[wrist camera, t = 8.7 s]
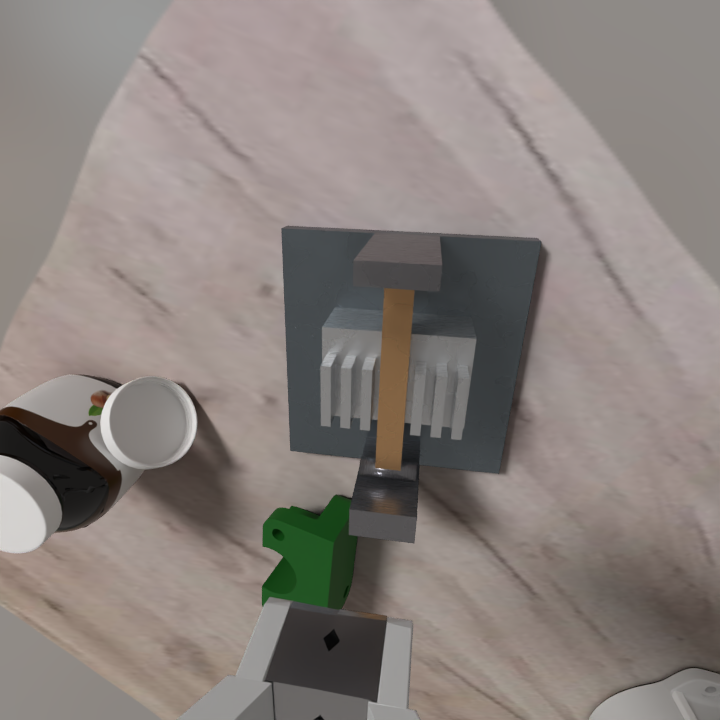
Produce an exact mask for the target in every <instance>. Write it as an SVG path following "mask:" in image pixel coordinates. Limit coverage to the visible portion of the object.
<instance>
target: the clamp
mask: <svg viewBox="0 0 720 720" xmlns="http://www.w3.org/2000/svg"><path fill="white" fill-rule="evenodd" d="M350 505H351V499H348V498H345V497H342V496H340V495H335V496H334V497H333V498H332V499H331V501H330V502H329V504H328V505H327V507H326V508H325V509H324V511H323V512H322V514H321V515H320V516H319V515H316V514H314V513H311V512H308V511H306V510H303V509H301V508H298V507H294V506H291V507H290V509H287V508H278V509H276V510H275V511H274V512H273V513H272V514H271V516H270V517H269V518H268V519H267V520H266V521H265V523H264V524H263V547H267V548H270V549H273V550H275V551H276V552H278V553H279V554H281V555H282V556H283V558H282V560H281V561H280V562H279V564H278V565H277V566H276V568H275V569H274V571H273V572H272V573H271V575H270V576H269V577H268V579H267V580H266V582H265V583H264V584H263V586H262V606H264V604H265V603H266V601H267V600H268V598H269V597H273V598H278V599H284V600H290V601H295V602H300V603H306V604H311V605H316V606H321V607H327V608H332V609H337V610H340V609H342V607H343V605H344V603H345V601H346V599H347V596H348V594H349V591H350V587H351V583H352V577H353V569H354V561H355V553H356V545H357V537H358V536H354V535H349V509H350Z"/></svg>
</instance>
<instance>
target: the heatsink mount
mask: <svg viewBox="0 0 720 720" xmlns="http://www.w3.org/2000/svg"><path fill="white" fill-rule="evenodd" d="M540 247H541V241H540V240H539V239H538V238H522V237H502V236H482V235H461V234H441V233H421V232H400V231H380V230H360V229H340V228H319V227H299V226H286V227H283V228H282V253H283V278H284V302H285V327H286V352H287V377H288V402H289V427H290V451H297V452H307V453H316V454H325V455H334V456H343V457H352V458H361V456H363V457H372V458H376V442H377V422H378V403H379V383H380V363H381V343H382V323H383V303H384V288H390V289H406V290H415V293H414V306H413V319H412V332H411V345H410V358H409V371H408V384H407V396H406V409H405V422H404V435H403V448H402V461H408V462H417V472H416V482H414V481H405V480H396V479H388V478H379V477H370V476H362V475H359V471H358V475H357V479H356V484H355V488H354V492H353V496H352V500H351V505H350V509H349V535H354V536H361V537H369V538H377V539H384V540H392V541H400V542H407V543H414V541H415V531H416V521H417V503H418V480H419V465H425V466H434V467H443V468H452V469H461V470H470V471H479V472H489V473H498V474H499V470H500V465H501V459H502V454H503V448H504V443H505V437H506V432H507V426H508V421H509V416H510V410H511V405H512V399H513V394H514V388H515V383H516V377H517V372H518V367H519V361H520V356H521V350H522V345H523V339H524V334H525V328H526V323H527V317H528V312H529V307H530V301H531V296H532V290H533V285H534V279H535V274H536V268H537V263H538V257H539V252H540Z"/></svg>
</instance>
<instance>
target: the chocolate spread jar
mask: <svg viewBox="0 0 720 720" xmlns="http://www.w3.org/2000/svg"><path fill="white" fill-rule="evenodd" d="M197 424H198V421H197V413H196V410H195V406H194V404H193V402H192V400H191V398H190V397H189V395H188V394H187V392H186V391H185V390H184V389H183V388H182V387H181V386H179V385H178V384H176V383H175V382H173V381H171V380H169V379H167V378H163V377H159V376H146V377H140V378H138V379H135V380H133V381H130V382H128V383H126V384H124V385H120V384H118V383H115V382H113V381H110V380H107V379H104V378H100V377H95V376H89V375H79V374H70V375H64V376H60V377H57V378H54V379H52V380H50V381H47V382H45V383H43V384H41V385H39V386H37V387H36V388H34V389H32V390H30V391H29V392H27V393H25V394H23V395H22V396H20V397H18V398H17V399H15V400H14V401H12V402H10V403H9V404H8V405H6V406H5V407H4V408H3V409H1V410H0V551H5V552H9V553H27V552H30V551H34V550H36V549H37V548H39V547H40V546H41V545H42V544H43V543H44V542H45V541H46V540H47V539H48V538H49V537H50V536H51V535H52V534H53V533H59V532H67V531H74V530H77V529H80V528H84V527H87V526H88V525H90V524H91V523H93V522H95V521H96V520H98V519H99V518H100V517H102V516H103V515H104V514H105V513H107V512H108V511H109V510H110V509H111V508H112V507H113V506H114V505H115V504H116V503H117V502H118V501H119V500H120V499H121V498H122V496H123V495H124V494H125V493H126V492H127V491H128V490H129V489H130V488H131V487H132V486H133V484H134V483H135V482H136V481H137V480H138V479H139V477H140V476H141V475H142V473H143V472H144V471H145V469H154V468H159V467H164V466H167V465H170V464H173V463H174V462H176V461H178V460H179V459H181V458H182V457H183V456H184V455H185V454H186V453H187V452H188V450H189V449H190V447H191V446H192V444H193V442H194V440H195V436H196V433H197Z"/></svg>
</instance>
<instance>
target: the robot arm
mask: <svg viewBox="0 0 720 720" xmlns="http://www.w3.org/2000/svg"><path fill="white" fill-rule="evenodd" d="M386 625H387V626H386ZM412 635H413V622H412V620H405V619H399V618H392V617H388V618H387V616H384V615H377V614H371V613H364V612H357V611H350V610H344V609H340V610H337V609H332V608H327V607H321V606H316V605H311V604H306V603H300V602H295V601H290V600H284V599H278V598H273V597H269V598H268V600H267V601H266V603H265V604H264V606H263V609H262V611H261V614H260V616H259V619H258V621H257V624H256V626H255V629H254V631H253V634H252V636H251V639H250V641H249V644H248V646H247V649H246V651H245V653H244V656H243V658H242V661H241V663H240V666H239V668H238V671H237V673H236V676H234V675H227V676H226V677H225V678H224V679H223V680H222V681H220V682H219V683H218V684H217V685H216V686H215V687H213V688H212V689H211V690H210V691H209V692H208V693H207V694H205V695H204V696H203V697H202V698H201V699H200V700H199V701H197V702H196V703H195V704H194V705H193V706H192V707H190V708H189V709H188V710H187V711H186V712H185V713H184V714H182V715H181V716H180V717H179V718H178V719H177V720H420V717H419V715H418V713H417V711H416V710H412V709H408V705H409V687H410V670H411V652H412ZM589 720H720V674H717V673H713V672H710V671H706V670H703V669H698V668H690V669H686V670H683V671H680V672H678V673H676V674H674V675H672V676H670V677H669V678H667V679H665V680H663V681H660V682H657V683H653V684H649V685H644V686H639V687H635V688H632V689H628V690H626V691H623V692H620V693H618V694H616V695H614V696H612V697H610V698H608V699H607V700H605V701H604V702H603V703H601V704H600V705H599V706H598V707H597V708H596V709H595V710H594V711H593V713H592V714H591V716H590V718H589Z"/></svg>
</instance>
